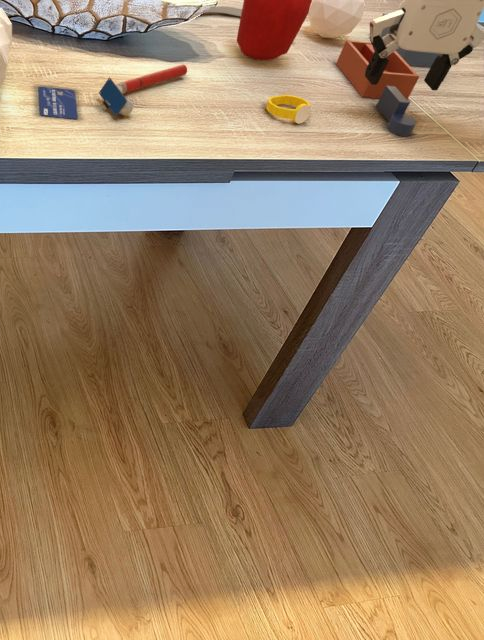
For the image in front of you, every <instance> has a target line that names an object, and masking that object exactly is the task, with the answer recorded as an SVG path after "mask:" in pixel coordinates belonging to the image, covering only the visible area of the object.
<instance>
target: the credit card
mask: <svg viewBox="0 0 484 640" xmlns="http://www.w3.org/2000/svg"><path fill="white" fill-rule="evenodd" d="M37 88H38V103H39V104H38V110H39V111H38V112H39V115H40V116H41V117H49V118H61V119H69V120H77V119H79V118H78V108H77V102H76V101H77V99H76V91H75V90H73V89H67V88H58V87H49V86H38V87H37Z"/></svg>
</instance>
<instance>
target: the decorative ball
mask: <svg viewBox="0 0 484 640" xmlns="http://www.w3.org/2000/svg"><path fill="white" fill-rule="evenodd" d="M365 4H366V3H365V0H312V2H311V5H310V9H309V12H308V15H307V16H308V20H309V24H310V27H311V29H312V30H313V31H314V32H315V33H317V34H318V35H319V36H320V37H321V38H328V39H329V38H330V39H331V38H332V39H335V38H338V37H342V36H346V35H349V34H351V33H352V31H353V30H354V29H355V28H356V27H357V26H358V24H359V23H360V22H361V20H362V18H363V16H364V13H365V10H366V5H365Z"/></svg>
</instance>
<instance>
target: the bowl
mask: <svg viewBox="0 0 484 640" xmlns="http://www.w3.org/2000/svg"><path fill="white" fill-rule="evenodd" d="M12 44H13V23H12V21H11V20H10V18H9V17H8V15H7V13H6V12H5V10H4V9H3V8H2V7H0V86H1V85H3V84H4V82H5V81H6V78H7V77H6V76H7V69H8V66H9V63H10V50H11V45H12Z"/></svg>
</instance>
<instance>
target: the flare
mask: <svg viewBox="0 0 484 640" xmlns="http://www.w3.org/2000/svg"><path fill="white" fill-rule="evenodd" d="M187 73H188V67H187V65H185V64H180V65H176V66H173V67H168V68H166V69H162V70H159V71H155V72H152V73H149V74H145V75H142V76H138V77H135V78H131V79H127V80H125V81H120V82H116V83H115V84H116V85H118V86H120V87H121V88H122V94H123V95H124V94H126V93H129V92H132V91H133V92H134V91H136V90H139V89H142V88H146V87H149V86H153V85H156V84H159V83H162V82H166V81H169V80H173V79H176V78H179V77H183V76H186V74H187Z"/></svg>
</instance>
